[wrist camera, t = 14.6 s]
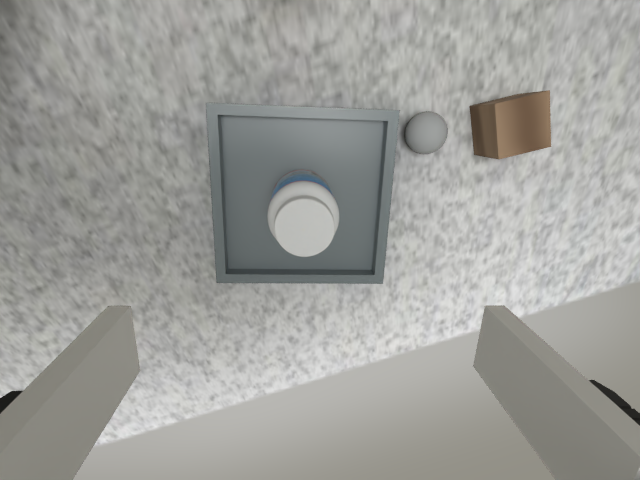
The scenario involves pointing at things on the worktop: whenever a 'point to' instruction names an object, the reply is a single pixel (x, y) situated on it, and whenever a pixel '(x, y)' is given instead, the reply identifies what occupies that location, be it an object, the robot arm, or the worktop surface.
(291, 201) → the pill bottle
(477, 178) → the worktop surface
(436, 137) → the ball
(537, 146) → the walnut block
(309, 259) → the tray
